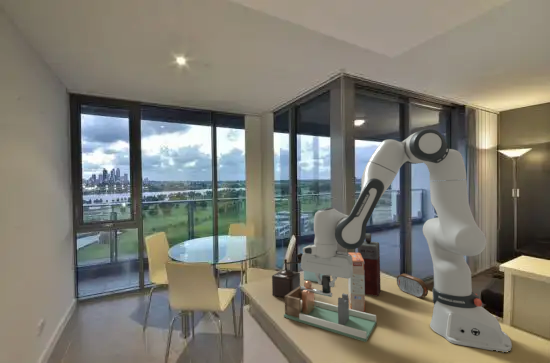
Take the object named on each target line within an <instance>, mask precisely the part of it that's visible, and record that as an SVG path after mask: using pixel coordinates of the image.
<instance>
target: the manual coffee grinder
mask: <svg viewBox="0 0 550 363" xmlns="http://www.w3.org/2000/svg"><path fill="white" fill-rule="evenodd" d="M303 254H304V253H303V252H302V253H301V252H299V253H297V254H296V258H297V261H289V262H288V259H287V258H285V259H284V262H283V263H284V269H281V270H280V271H277V272H276V273H274V274H273V275H271V281H272V282H271V283H272V289H271V290H272V296H274V295H275V297H278V296H280V297H279V298H282V297H284V298H283V299H285V296H286V295H287V294H289V293H290V292H291V291H293V290H294V289H296V288H297V287H299V286H301V273H300V272H297V271H294V270H291V269H288V265H293V264H294V265H296V264H300V265H301V258H302V255H303Z"/></svg>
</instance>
